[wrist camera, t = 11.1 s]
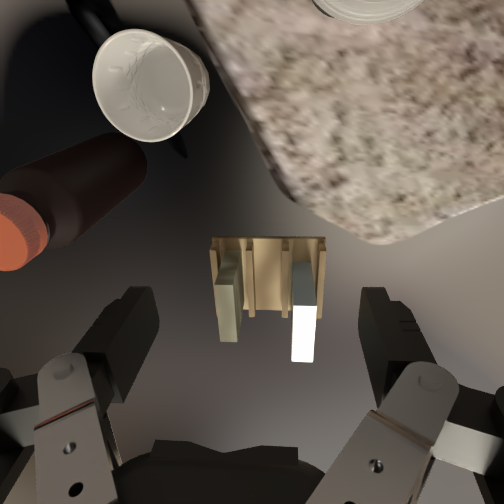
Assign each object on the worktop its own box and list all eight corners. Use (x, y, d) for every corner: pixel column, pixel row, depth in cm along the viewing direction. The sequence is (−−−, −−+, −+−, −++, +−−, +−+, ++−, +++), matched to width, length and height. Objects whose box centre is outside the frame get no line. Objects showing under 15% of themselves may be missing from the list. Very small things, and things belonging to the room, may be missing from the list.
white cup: (124, 65, 35) (70, 66, 26) (188, 19, 33) (152, 4, 24) (168, 136, 38) (133, 158, 29) (229, 99, 36) (211, 112, 27)
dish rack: (325, 236, 42) (333, 274, 35) (320, 308, 47) (326, 354, 40) (212, 236, 43) (197, 272, 36) (219, 305, 49) (207, 350, 41)
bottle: (82, 168, 41) (-70, 249, 23) (104, 118, 38) (-53, 167, 20) (134, 201, 42) (26, 299, 25) (158, 155, 39) (56, 230, 22)
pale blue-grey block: (311, 262, 43) (316, 306, 35) (308, 312, 47) (312, 362, 39) (292, 261, 44) (293, 305, 36) (290, 311, 47) (291, 361, 40)
